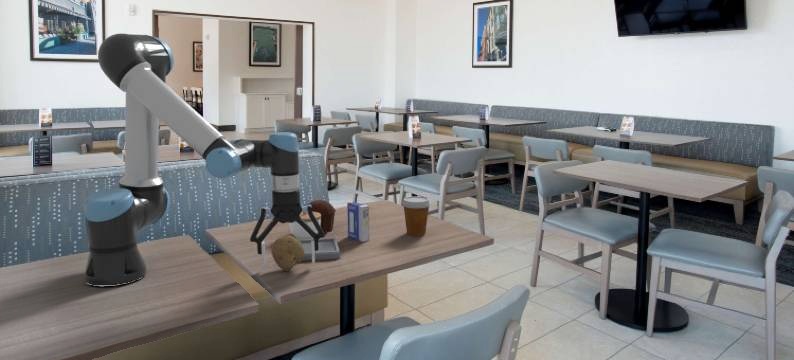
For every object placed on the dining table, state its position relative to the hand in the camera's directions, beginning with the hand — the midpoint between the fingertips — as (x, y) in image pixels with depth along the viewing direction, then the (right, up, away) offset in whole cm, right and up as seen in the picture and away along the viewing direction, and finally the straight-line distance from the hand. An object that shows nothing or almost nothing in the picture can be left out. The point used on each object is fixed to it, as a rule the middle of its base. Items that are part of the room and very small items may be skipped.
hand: (288, 263), depth 165 cm
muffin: (+4, +6, +40) cm, 41 cm away
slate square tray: (+5, +1, +15) cm, 16 cm away
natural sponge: (0, -2, 0) cm, 2 cm away
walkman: (+18, +4, +30) cm, 35 cm away
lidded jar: (0, +4, +31) cm, 31 cm away
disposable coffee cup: (+37, +5, +35) cm, 51 cm away
